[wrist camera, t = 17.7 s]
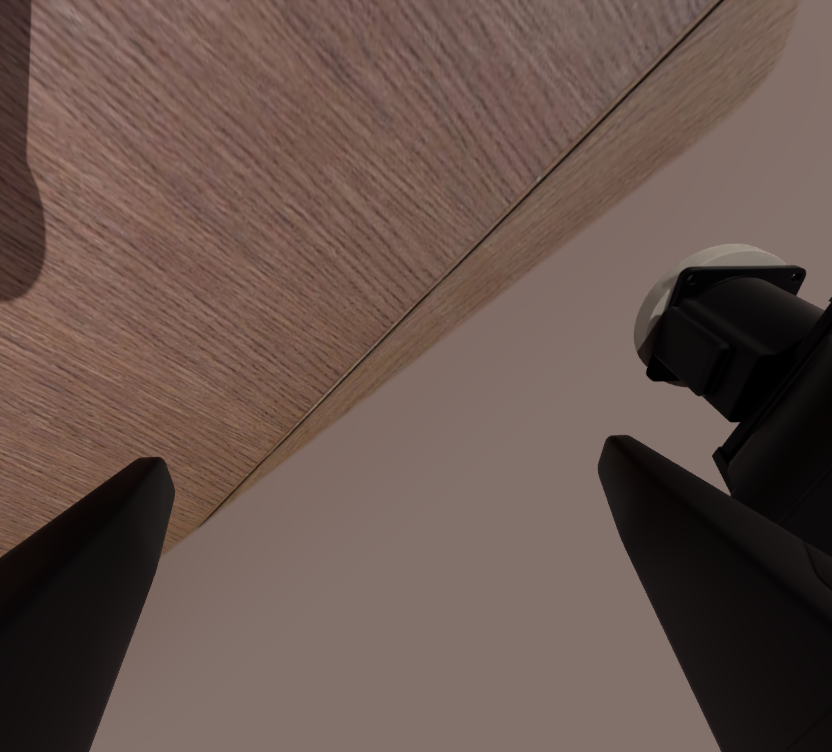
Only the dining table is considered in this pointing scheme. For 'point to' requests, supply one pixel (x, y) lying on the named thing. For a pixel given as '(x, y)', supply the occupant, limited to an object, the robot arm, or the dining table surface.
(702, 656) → the robot arm
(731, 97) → the dining table surface
